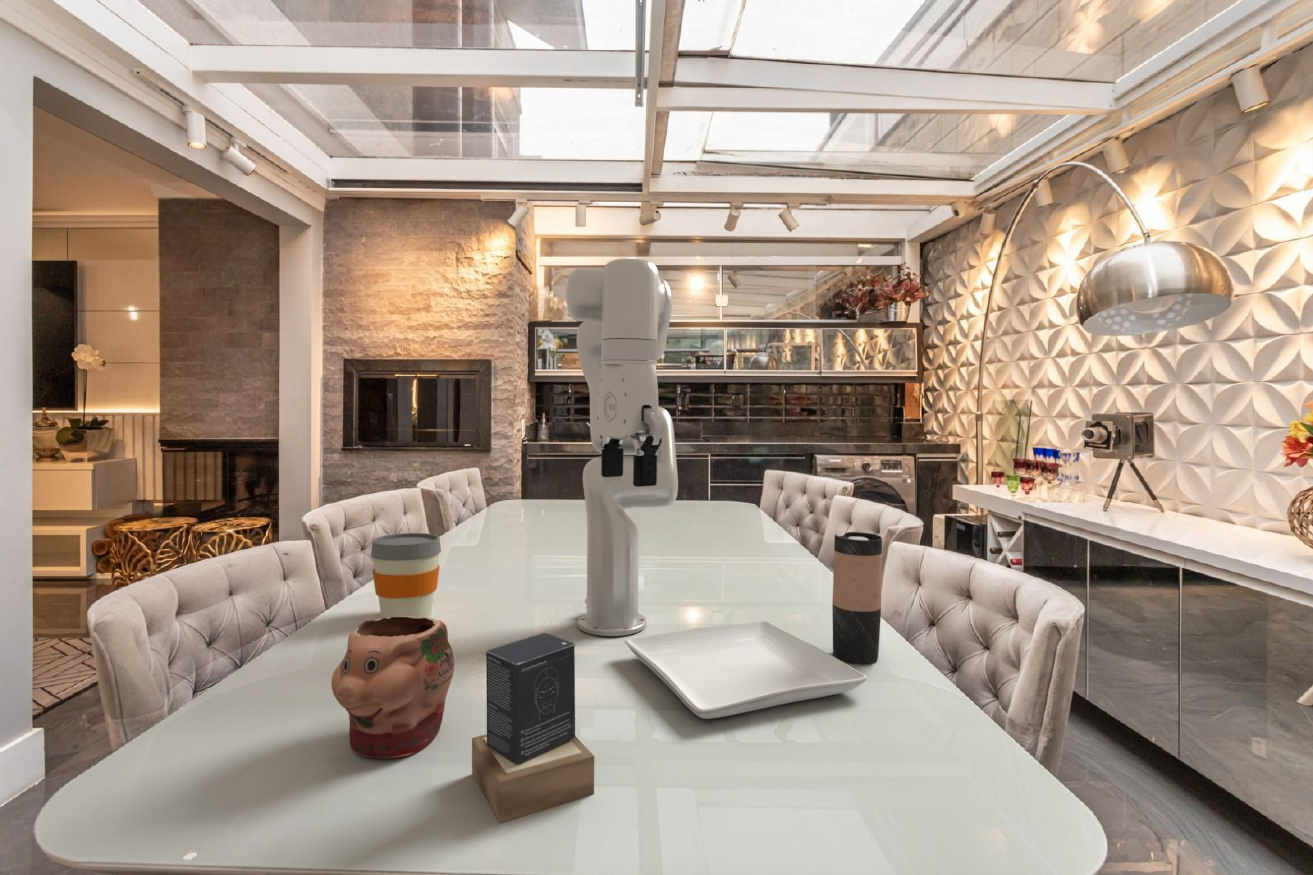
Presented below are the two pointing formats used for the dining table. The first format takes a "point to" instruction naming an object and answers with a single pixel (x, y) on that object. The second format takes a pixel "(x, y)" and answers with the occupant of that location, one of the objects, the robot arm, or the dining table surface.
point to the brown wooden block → (532, 778)
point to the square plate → (742, 667)
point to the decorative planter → (394, 684)
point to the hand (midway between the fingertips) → (627, 481)
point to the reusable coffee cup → (406, 573)
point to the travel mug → (857, 597)
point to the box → (530, 696)
